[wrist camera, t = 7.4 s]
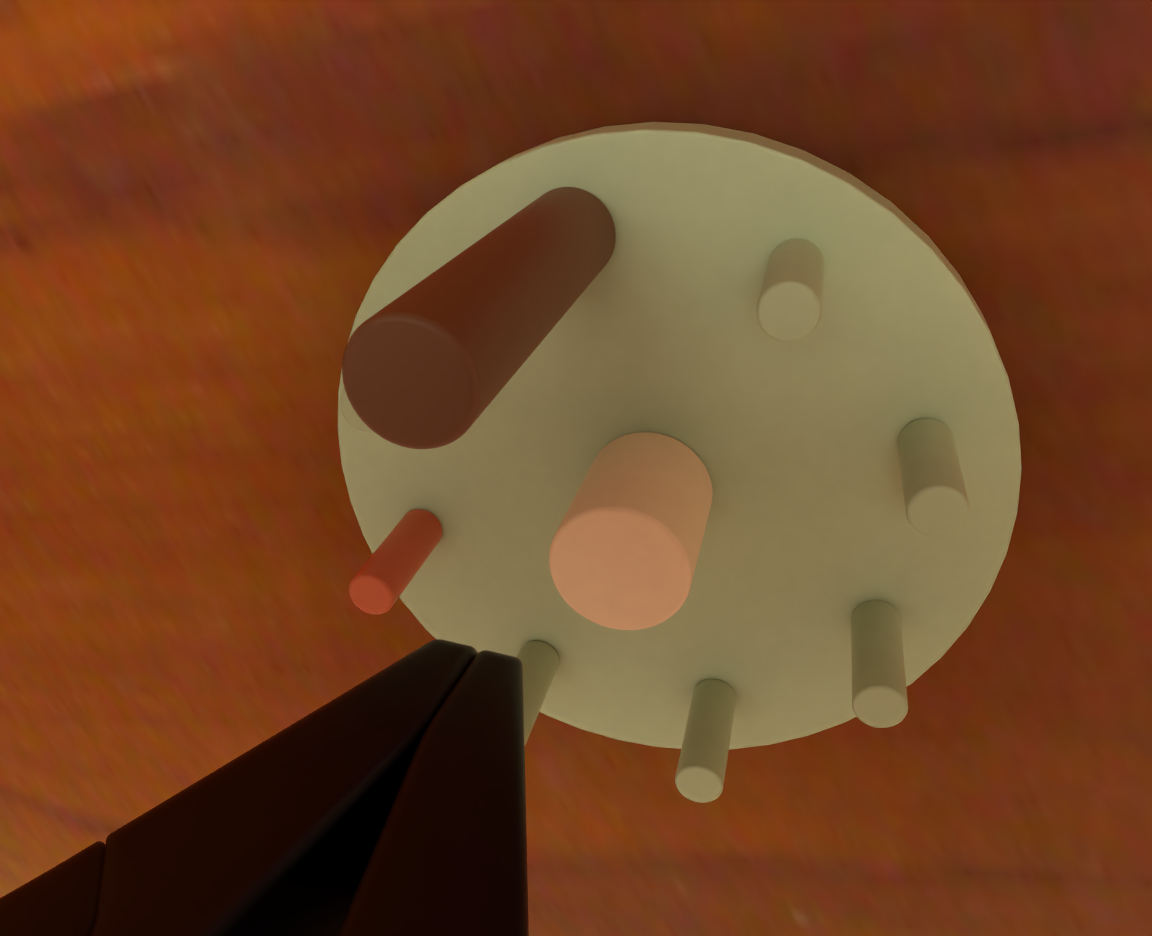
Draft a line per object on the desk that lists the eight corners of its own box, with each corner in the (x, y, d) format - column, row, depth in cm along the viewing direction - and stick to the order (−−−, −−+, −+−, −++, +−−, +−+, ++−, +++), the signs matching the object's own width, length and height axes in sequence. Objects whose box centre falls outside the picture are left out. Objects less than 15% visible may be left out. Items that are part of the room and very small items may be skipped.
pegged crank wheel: (1053, 694, 19) (1172, 1104, 12) (479, 739, 24) (327, 1058, 17) (952, 12, 14) (1057, 42, 7) (259, 231, 19) (-85, 380, 12)
